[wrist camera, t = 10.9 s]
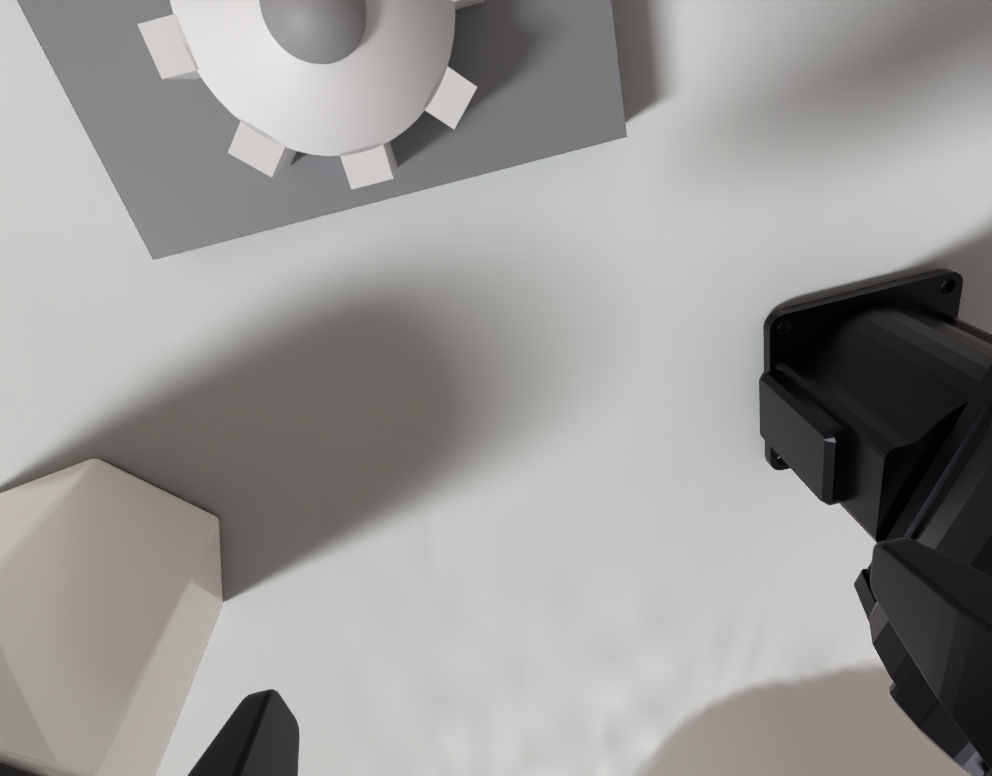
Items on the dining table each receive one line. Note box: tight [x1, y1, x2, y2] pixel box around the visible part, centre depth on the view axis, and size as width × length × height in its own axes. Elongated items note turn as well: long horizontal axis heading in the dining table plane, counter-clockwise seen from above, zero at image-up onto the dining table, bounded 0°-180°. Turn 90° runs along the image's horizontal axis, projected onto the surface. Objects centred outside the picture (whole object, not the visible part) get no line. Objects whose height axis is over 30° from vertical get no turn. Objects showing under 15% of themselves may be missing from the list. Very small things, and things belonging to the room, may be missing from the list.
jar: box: [0, 458, 223, 776], centre depth 17 cm, size 9×8×12 cm
